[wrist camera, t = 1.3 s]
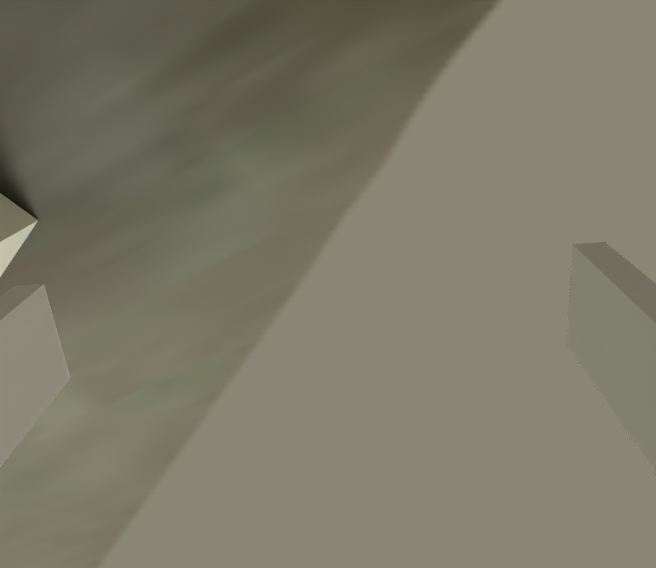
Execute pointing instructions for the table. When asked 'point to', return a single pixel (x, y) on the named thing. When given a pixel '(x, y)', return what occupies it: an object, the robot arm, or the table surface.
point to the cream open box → (12, 230)
